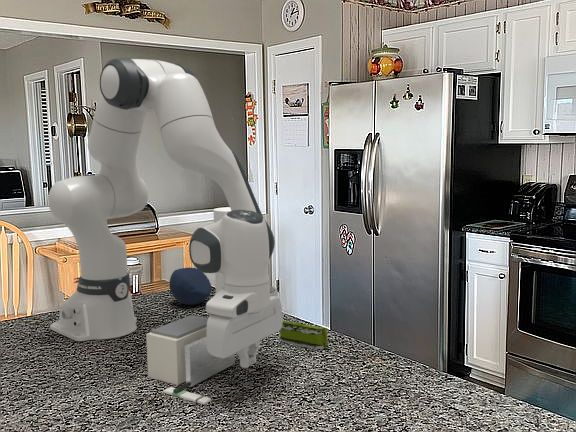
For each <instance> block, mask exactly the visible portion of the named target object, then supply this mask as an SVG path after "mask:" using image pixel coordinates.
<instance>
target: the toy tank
mask: <svg viewBox="0 0 576 432" xmlns="http://www.w3.org/2000/svg"><path fill="white" fill-rule="evenodd" d="M279 334H280V336H279V341H280V340H281V341H282V342H285V343H290V344H294V345H293V346H295V345H298V346H297V347H300V346H302V347H301V348H304V347H307V348H306V349H309V348H312V349H311V350H314V349H322V350H324V349H326V348H327V347H328V346H329V342H328V331H327V327H320V326H315V325H309V324H306V323H300V322H298V321H297V322H293V321H288V320H283V325H282V328H281V330H280V331H279ZM281 341H280V342H281ZM282 342H281V343H282ZM285 343H284V344H285ZM290 344H289V345H290Z"/></svg>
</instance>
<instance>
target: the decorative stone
mask: <svg viewBox="0 0 576 432" xmlns="http://www.w3.org/2000/svg"><path fill="white" fill-rule="evenodd" d="M212 288H213V287H212V283H211V281H210V279H209V278H208V276H207V275H206V273H203V272H201V271H200V270H198V269H197V268H196V267H182V268H178V269H175V270H173V272H172V273H171V275H170V279H169V289H170V293H171V294H172V296H173V298H174V299H175V300H176V301H177V302H179V303H181V304H183V305H186V306H194V305H198V304H200V303H203V302H204V301H206V300H207V299H208V298H209V296H210V294H211V293H212V291H213V290H212Z"/></svg>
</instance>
